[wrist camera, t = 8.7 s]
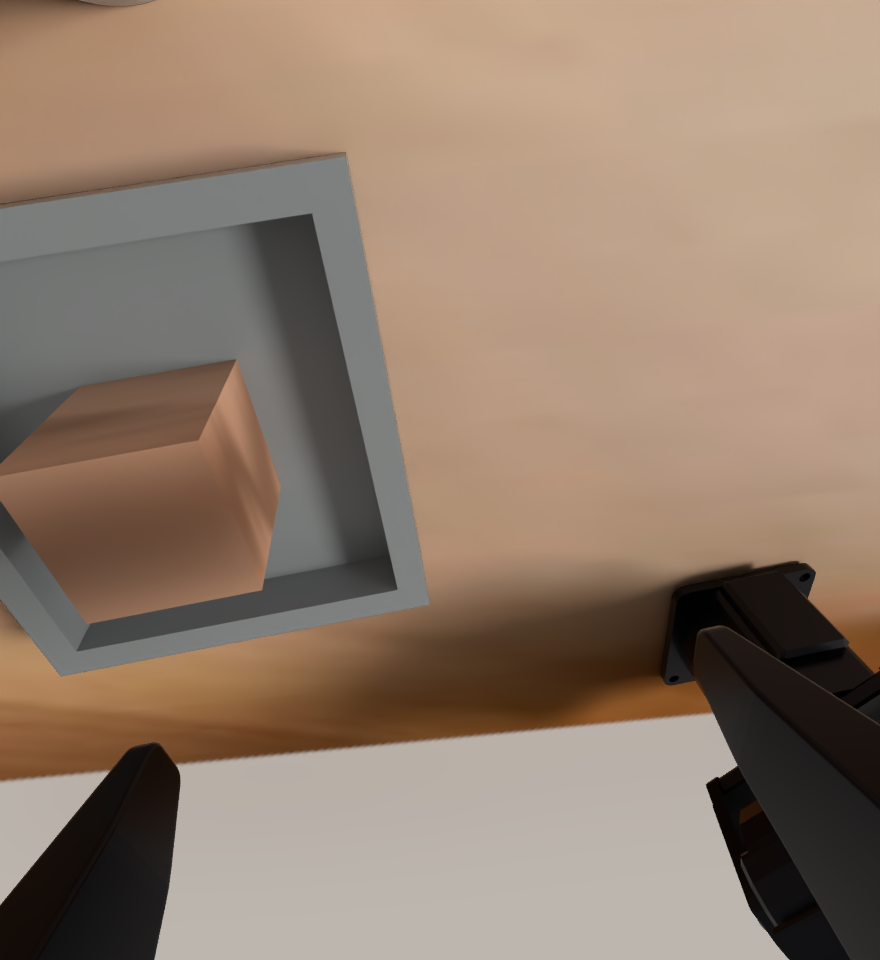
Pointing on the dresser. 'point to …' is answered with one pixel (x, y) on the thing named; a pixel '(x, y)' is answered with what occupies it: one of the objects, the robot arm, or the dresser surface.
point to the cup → (117, 2)
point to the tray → (205, 340)
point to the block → (148, 492)
